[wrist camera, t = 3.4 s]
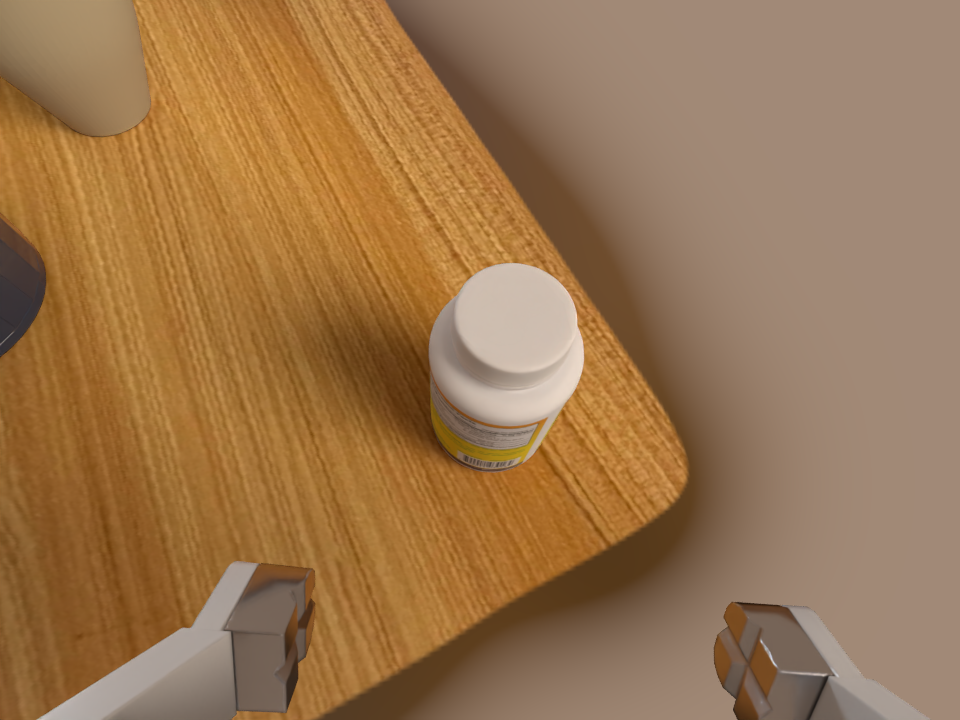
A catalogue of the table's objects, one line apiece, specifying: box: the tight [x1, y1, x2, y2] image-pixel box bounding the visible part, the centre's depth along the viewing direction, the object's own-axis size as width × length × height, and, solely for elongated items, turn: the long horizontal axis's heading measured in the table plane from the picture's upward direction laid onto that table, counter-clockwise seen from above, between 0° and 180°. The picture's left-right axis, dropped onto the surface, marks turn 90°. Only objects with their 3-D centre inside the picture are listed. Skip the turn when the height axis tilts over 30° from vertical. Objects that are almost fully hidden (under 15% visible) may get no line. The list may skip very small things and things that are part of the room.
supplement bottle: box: [429, 263, 584, 472], centre depth 22 cm, size 6×6×10 cm
